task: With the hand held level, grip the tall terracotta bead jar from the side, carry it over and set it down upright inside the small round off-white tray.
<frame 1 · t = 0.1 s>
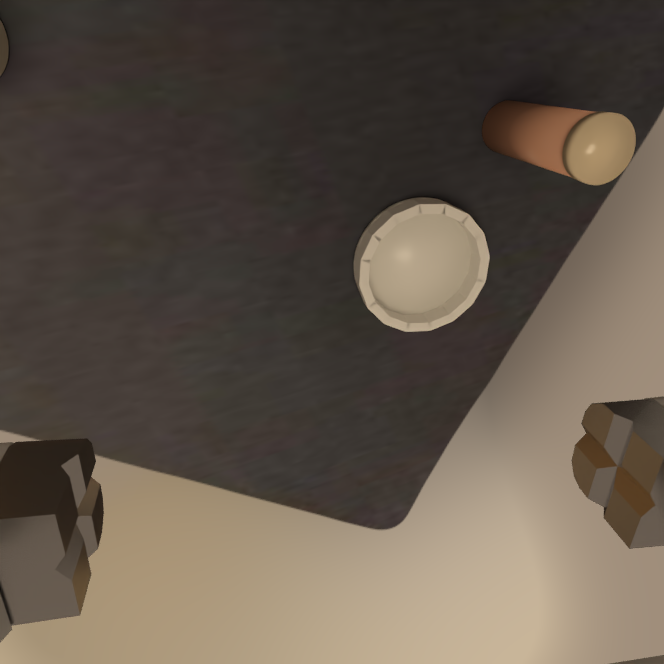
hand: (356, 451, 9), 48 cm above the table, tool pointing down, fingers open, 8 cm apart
bead jar: (505, 127, 55), on the table
round tray: (415, 261, 60), on the table
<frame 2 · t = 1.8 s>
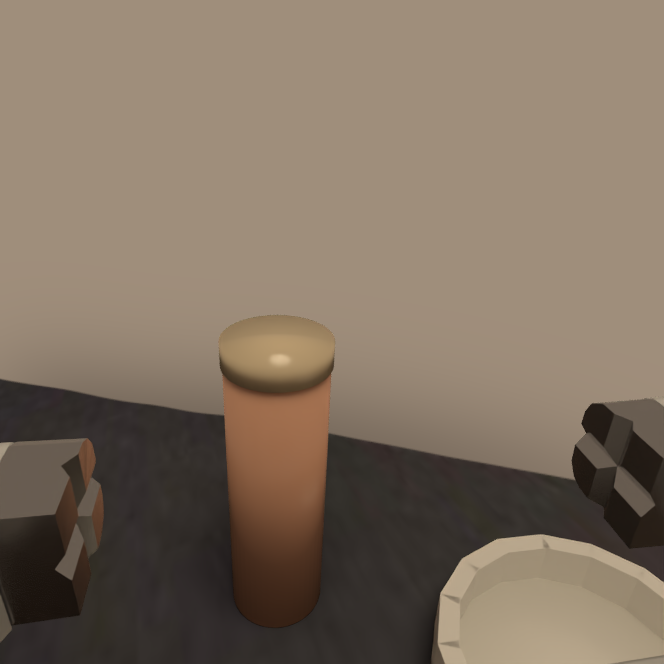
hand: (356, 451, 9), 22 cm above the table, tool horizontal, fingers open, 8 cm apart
bead jar: (277, 587, 32), on the table
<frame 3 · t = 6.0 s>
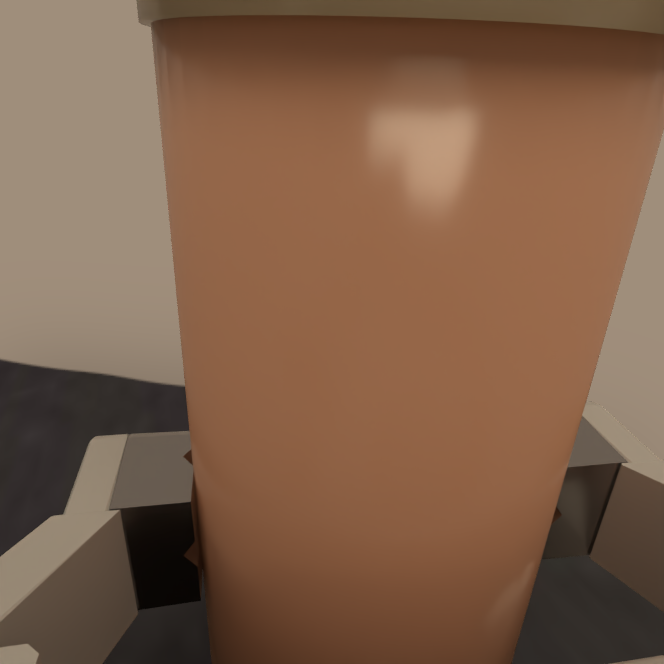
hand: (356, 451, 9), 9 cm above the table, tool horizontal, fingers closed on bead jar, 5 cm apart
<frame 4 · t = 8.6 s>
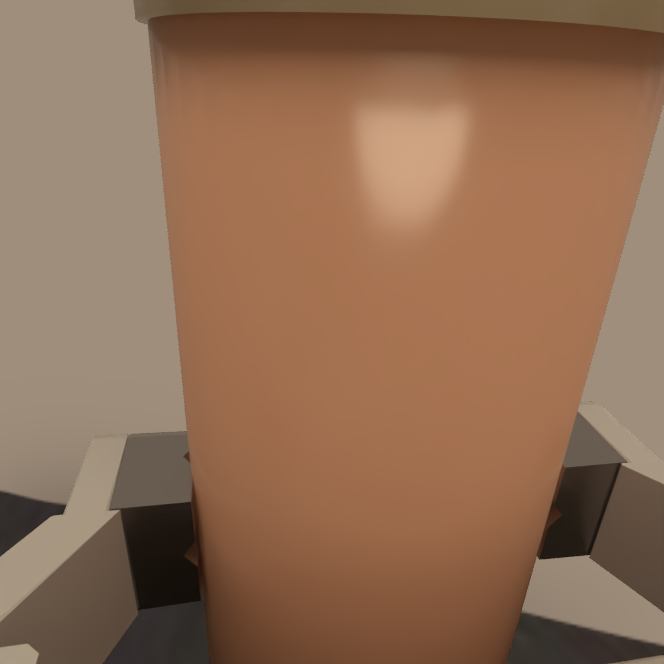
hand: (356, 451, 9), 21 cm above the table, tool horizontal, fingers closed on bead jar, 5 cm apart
when the fingers open (11 cm above the table, at t = 11.2 s): bead jar drops 1 cm, resting on round tray.
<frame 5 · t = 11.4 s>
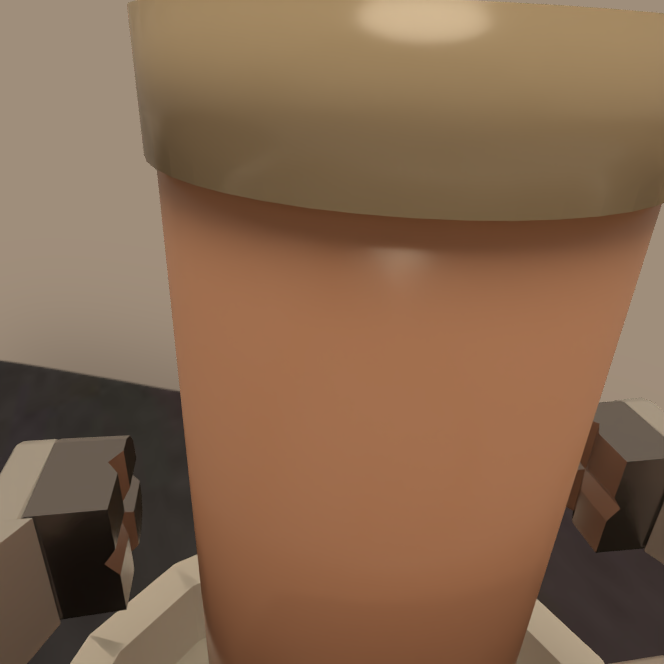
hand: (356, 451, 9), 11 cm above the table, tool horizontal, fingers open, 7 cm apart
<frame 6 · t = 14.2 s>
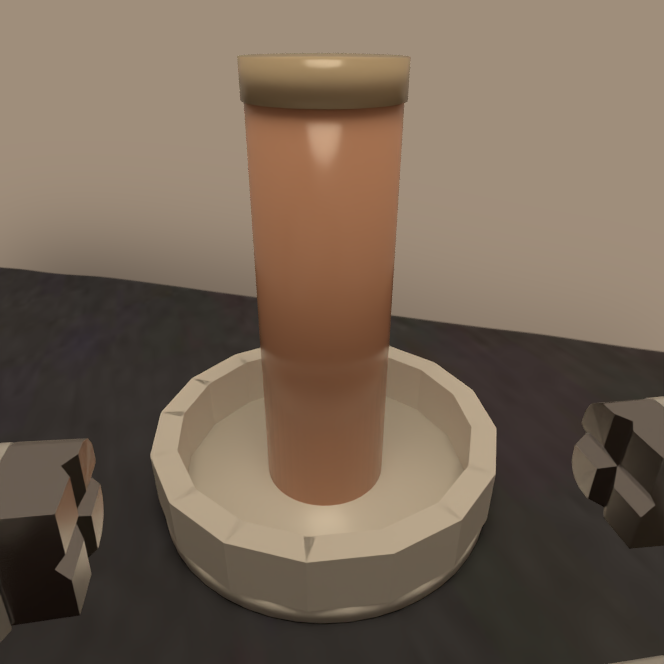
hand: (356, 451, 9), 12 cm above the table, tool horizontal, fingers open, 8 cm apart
bead jar: (325, 463, 24), point 1 cm above the table, touching round tray
round tray: (325, 477, 25), on the table
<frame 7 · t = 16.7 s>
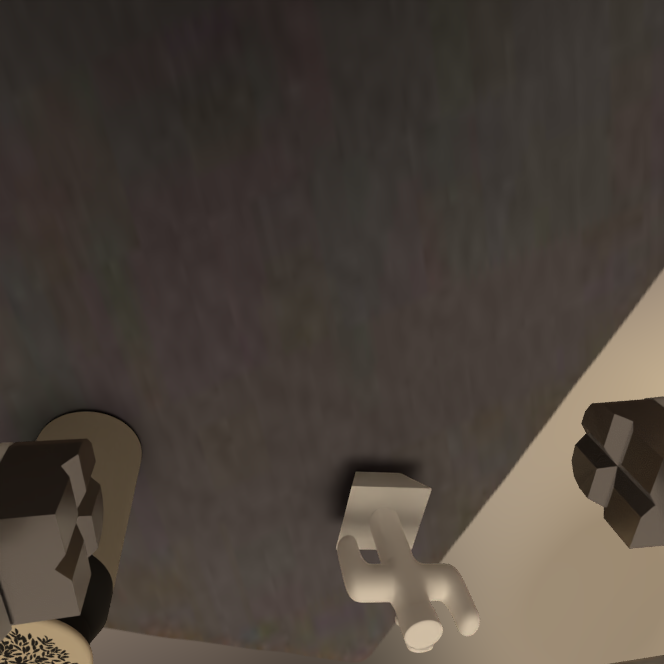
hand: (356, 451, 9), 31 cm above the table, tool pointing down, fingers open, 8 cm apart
figurine: (372, 488, 51), on the table
travel mug: (91, 448, 44), on the table
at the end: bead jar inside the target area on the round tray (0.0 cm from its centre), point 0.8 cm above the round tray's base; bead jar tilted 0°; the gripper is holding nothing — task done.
